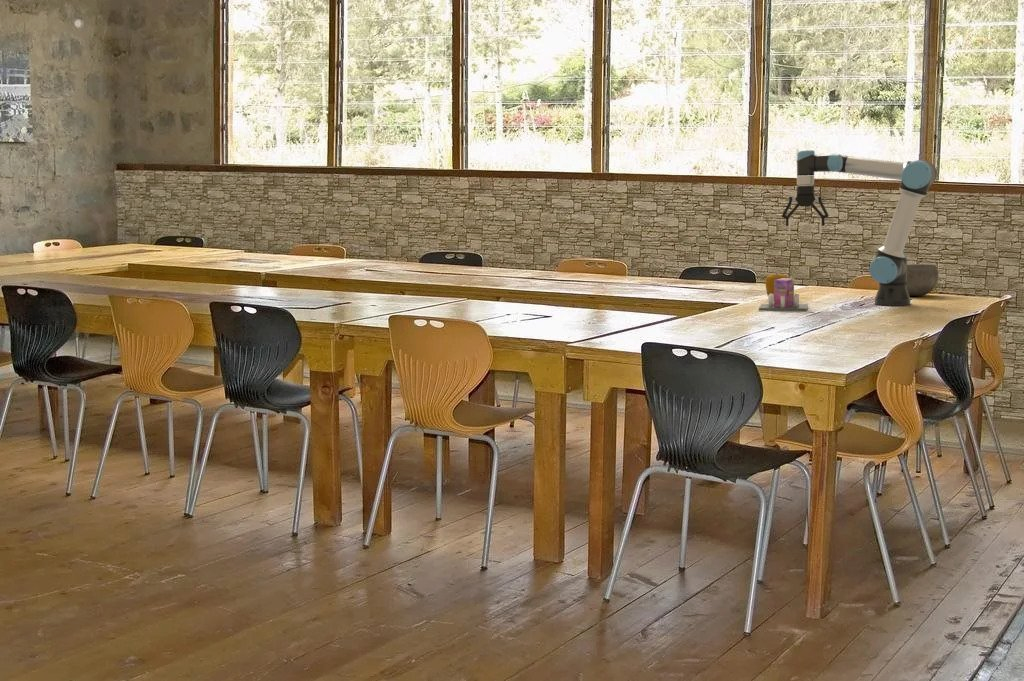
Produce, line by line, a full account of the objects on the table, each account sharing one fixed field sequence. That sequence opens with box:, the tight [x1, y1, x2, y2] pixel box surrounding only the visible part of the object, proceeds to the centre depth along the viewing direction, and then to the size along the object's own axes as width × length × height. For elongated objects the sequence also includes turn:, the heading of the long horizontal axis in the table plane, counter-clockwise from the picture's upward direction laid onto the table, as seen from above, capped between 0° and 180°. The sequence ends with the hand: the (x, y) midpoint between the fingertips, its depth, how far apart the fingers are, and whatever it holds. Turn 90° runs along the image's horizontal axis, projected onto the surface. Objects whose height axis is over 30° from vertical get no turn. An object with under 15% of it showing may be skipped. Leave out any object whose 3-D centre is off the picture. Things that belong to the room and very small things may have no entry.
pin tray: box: [758, 293, 809, 312], centre depth 552 cm, size 20×18×6 cm
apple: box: [764, 272, 789, 297], centre depth 589 cm, size 11×11×13 cm
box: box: [774, 277, 795, 307], centre depth 551 cm, size 10×6×12 cm, turn 149°
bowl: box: [907, 263, 939, 297], centre depth 597 cm, size 21×21×15 cm
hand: (805, 233), depth 565 cm, fingers open, 13 cm apart
